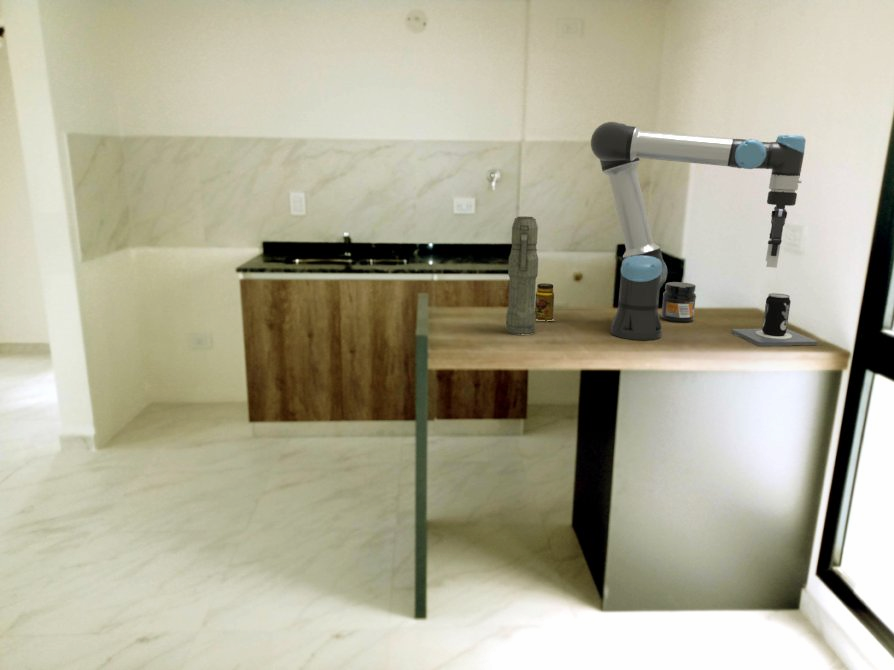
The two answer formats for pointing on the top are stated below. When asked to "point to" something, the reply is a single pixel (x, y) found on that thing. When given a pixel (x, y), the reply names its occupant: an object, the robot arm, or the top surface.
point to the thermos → (522, 276)
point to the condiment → (544, 302)
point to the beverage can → (776, 314)
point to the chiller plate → (773, 338)
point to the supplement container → (678, 302)
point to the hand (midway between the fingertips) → (770, 264)
